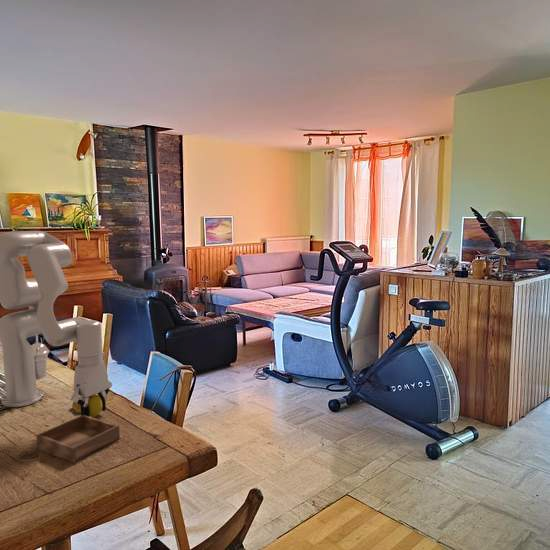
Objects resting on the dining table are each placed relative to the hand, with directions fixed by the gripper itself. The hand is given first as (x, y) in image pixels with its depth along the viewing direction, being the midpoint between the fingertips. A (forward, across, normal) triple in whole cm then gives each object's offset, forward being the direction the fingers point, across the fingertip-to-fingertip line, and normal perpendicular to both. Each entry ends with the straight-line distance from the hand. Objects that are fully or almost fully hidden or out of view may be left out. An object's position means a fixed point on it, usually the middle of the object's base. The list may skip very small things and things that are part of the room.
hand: (93, 413), depth 155 cm
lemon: (+2, 0, 0) cm, 2 cm away
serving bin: (+1, +14, +11) cm, 18 cm away
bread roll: (+2, -4, -9) cm, 10 cm away
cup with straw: (+2, -16, -52) cm, 54 cm away
